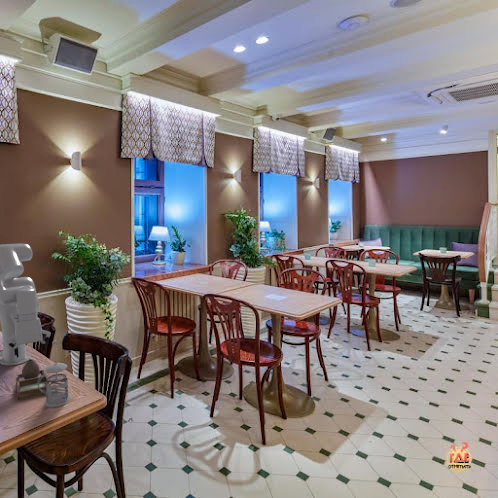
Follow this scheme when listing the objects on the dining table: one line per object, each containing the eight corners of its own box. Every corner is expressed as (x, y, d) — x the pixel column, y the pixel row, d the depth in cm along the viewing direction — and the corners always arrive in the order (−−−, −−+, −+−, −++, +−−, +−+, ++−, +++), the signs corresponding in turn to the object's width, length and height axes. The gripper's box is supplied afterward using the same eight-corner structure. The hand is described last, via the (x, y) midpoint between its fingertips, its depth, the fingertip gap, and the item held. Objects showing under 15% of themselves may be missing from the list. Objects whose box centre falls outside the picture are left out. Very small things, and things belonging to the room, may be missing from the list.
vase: (32, 383, 165) (30, 364, 164) (18, 381, 166) (17, 362, 165) (43, 376, 172) (42, 357, 171) (30, 374, 173) (29, 356, 172)
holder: (17, 388, 161) (17, 381, 160) (48, 381, 167) (47, 375, 166) (17, 400, 151) (17, 393, 150) (50, 392, 157) (50, 385, 157)
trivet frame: (17, 376, 171) (17, 374, 171) (43, 371, 176) (43, 369, 176) (17, 386, 162) (17, 384, 162) (45, 380, 167) (45, 378, 167)
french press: (74, 401, 150) (71, 341, 147) (42, 411, 143) (38, 348, 140) (67, 391, 158) (64, 334, 155) (36, 401, 150) (32, 341, 147)
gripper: (4, 322, 158) (7, 361, 159) (50, 315, 167) (53, 352, 169) (4, 317, 164) (7, 355, 166) (48, 311, 173) (51, 347, 175)
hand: (30, 354), depth 167 cm, fingers open, 9 cm apart
